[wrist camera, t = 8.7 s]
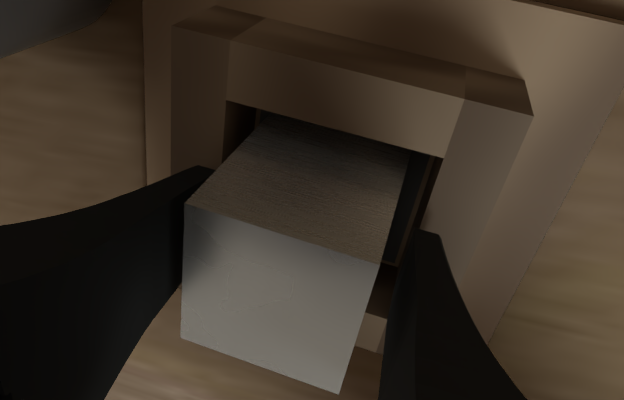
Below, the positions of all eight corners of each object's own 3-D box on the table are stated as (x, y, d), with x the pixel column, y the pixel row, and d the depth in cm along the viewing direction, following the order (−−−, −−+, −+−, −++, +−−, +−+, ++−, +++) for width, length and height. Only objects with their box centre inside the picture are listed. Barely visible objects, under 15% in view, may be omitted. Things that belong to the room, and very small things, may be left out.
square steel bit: (415, 136, 14) (379, 264, 9) (381, 244, 17) (338, 394, 12) (283, 100, 15) (184, 203, 10) (267, 209, 17) (180, 337, 12)
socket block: (645, 25, 12) (691, 62, 10) (476, 352, 19) (477, 425, 16) (151, -84, 14) (79, -77, 11) (156, 250, 21) (112, 302, 18)
